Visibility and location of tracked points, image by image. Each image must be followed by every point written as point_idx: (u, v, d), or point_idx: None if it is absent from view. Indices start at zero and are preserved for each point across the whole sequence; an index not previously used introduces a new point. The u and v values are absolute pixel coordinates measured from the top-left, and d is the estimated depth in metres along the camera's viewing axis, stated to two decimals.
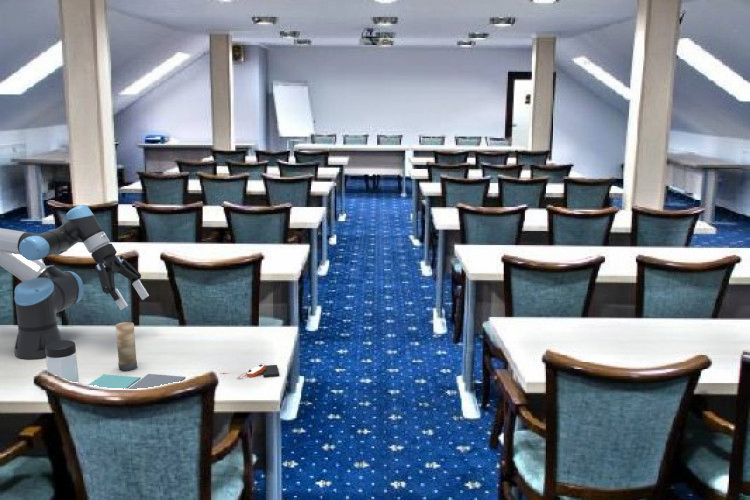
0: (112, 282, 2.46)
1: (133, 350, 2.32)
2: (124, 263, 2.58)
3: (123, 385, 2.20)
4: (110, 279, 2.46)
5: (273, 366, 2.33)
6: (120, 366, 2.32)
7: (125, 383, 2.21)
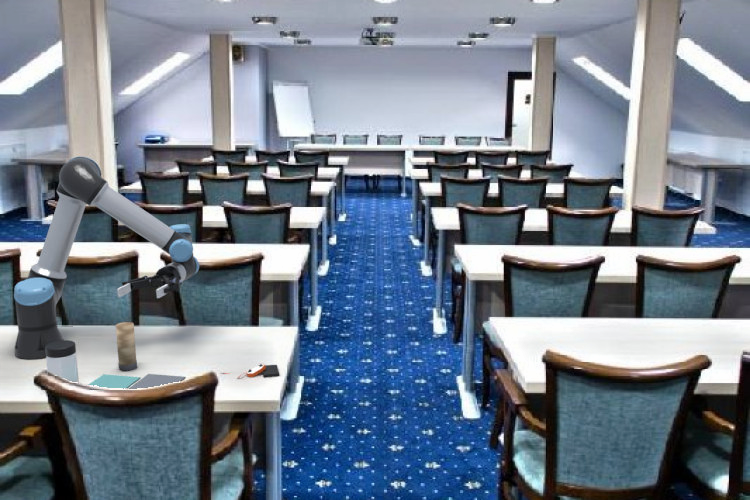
0: None
1: (133, 350, 2.32)
2: None
3: (123, 385, 2.20)
4: None
5: (273, 366, 2.33)
6: (120, 366, 2.32)
7: (125, 383, 2.21)
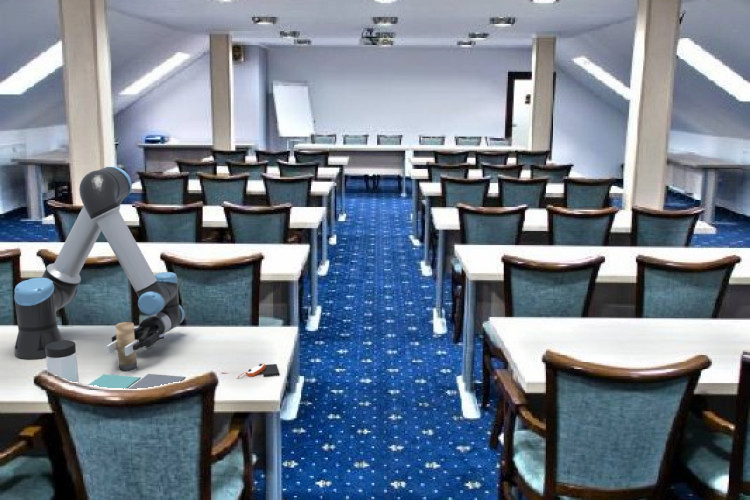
0: None
1: None
2: None
3: (123, 385, 2.20)
4: None
5: (273, 365, 2.33)
6: (120, 366, 2.32)
7: (125, 383, 2.21)
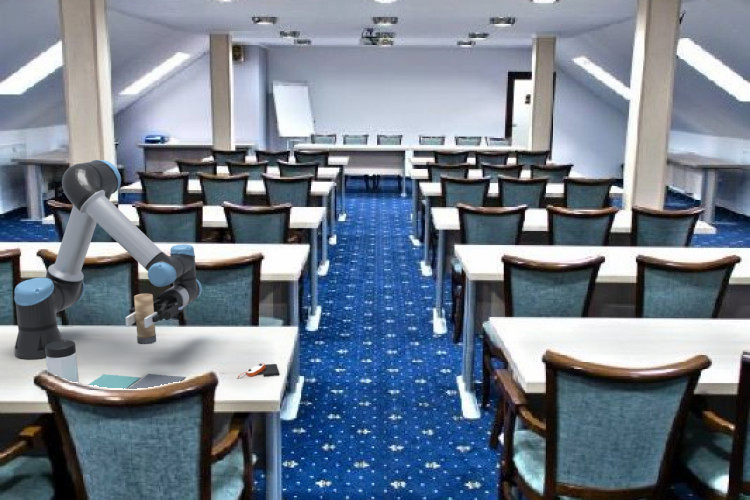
0: None
1: None
2: None
3: (123, 385, 2.20)
4: None
5: (273, 365, 2.33)
6: (139, 339, 2.23)
7: (125, 383, 2.21)
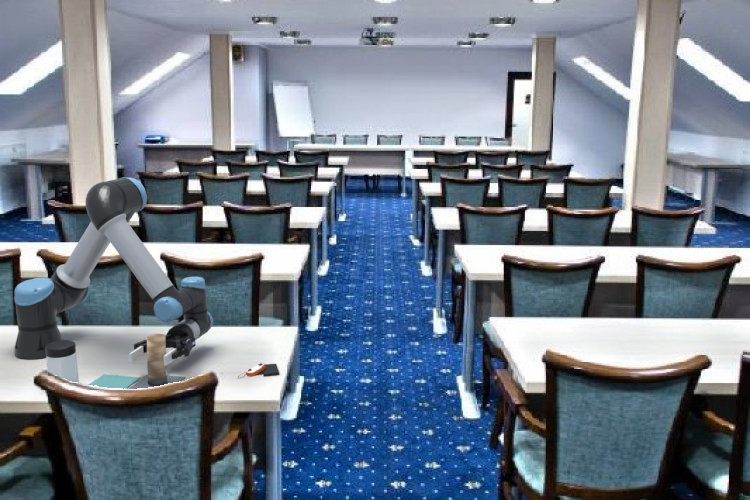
0: None
1: None
2: None
3: (123, 385, 2.20)
4: None
5: (272, 365, 2.34)
6: (149, 380, 2.19)
7: (125, 383, 2.21)
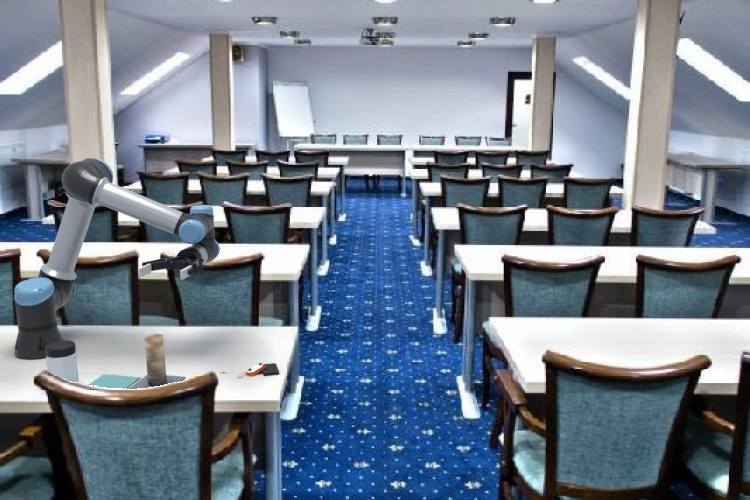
0: None
1: (163, 364, 2.20)
2: None
3: (123, 385, 2.20)
4: None
5: (272, 364, 2.34)
6: (149, 381, 2.20)
7: (125, 383, 2.21)
